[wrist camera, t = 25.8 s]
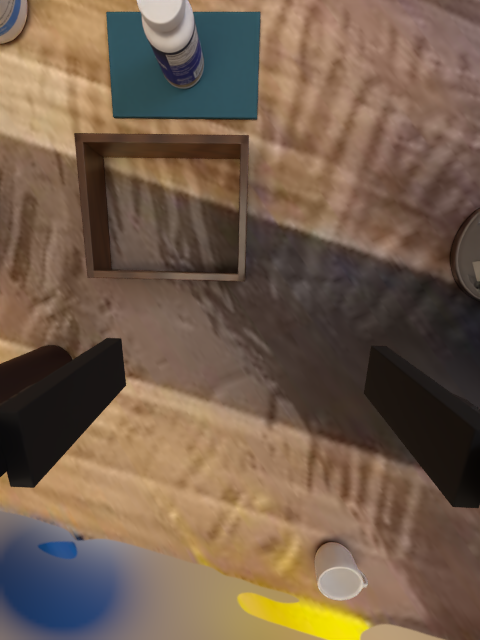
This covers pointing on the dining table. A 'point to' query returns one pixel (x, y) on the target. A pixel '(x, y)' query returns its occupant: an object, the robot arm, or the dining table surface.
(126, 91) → the mat
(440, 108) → the dining table surface
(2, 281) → the dining table surface
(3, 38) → the supplement tub
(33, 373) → the vinegar
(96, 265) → the wooden tray
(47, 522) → the dining table surface
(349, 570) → the teacup
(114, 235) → the dining table surface
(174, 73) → the pill bottle
